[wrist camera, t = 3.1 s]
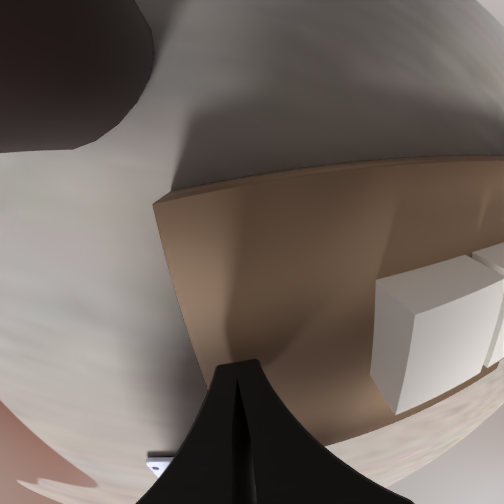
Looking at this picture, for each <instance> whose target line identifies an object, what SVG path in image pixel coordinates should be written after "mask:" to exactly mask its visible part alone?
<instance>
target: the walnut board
mask: <svg viewBox="0 0 504 504" xmlns="http://www.w3.org/2000/svg"><path fill="white" fill-rule="evenodd" d="M153 209H154V213H155V217H156V221H157V226H158V230H159V234H160V238H161V242H162V246H163V249H164V253H165V257H166V261H167V265H168V268H169V272H170V275H171V279H172V282H173V286H174V289H175V293H176V296H177V300H178V303H179V306H180V309H181V313H182V316H183V319H184V322H185V325H186V328H187V332H188V335H189V338H190V341H191V344H192V347H193V350H194V352H195V355H196V358H197V361H198V364H199V367H200V370H201V372H202V375H203V378H204V381H205V383H206V386H207V389H209V386H210V384H211V381H212V378H213V374H214V371H215V368H216V367H217V366H218V365H222V364H228V363H234V362H239V361H245V360H250V359H257V360H259V361H260V364H261V367H262V369H263V371H264V373H265V375H266V377H267V379H268V381H269V382H270V384H271V386H272V387H273V389H274V390H275V392H276V393H277V395H278V396H279V398H280V399H281V400H282V402H283V403H284V404H285V406H286V407H287V408H288V410H289V411H290V412H291V413H292V414H293V416H294V417H295V418H296V419H297V420H298V421H299V422H300V423H301V425H302V426H303V427H304V428H305V429H306V430H307V431H308V432H309V433H310V434H311V435H312V436H313V437H314V438H315V439H316V440H318V441H319V442H320V443H321V444H322V445H323V446H328V445H331V444H335V443H338V442H341V441H345V440H348V439H351V438H354V437H357V436H360V435H363V434H366V433H369V432H371V431H374V430H377V429H379V428H382V427H385V426H387V425H390V424H392V423H395V422H397V421H399V420H402V419H404V418H407V417H409V416H411V415H413V414H416V413H418V412H420V411H422V410H424V409H426V408H428V407H430V406H432V405H434V404H436V403H438V402H440V401H442V400H444V399H446V398H448V397H450V396H452V395H454V394H455V393H457V392H459V391H461V390H463V389H464V388H466V387H468V386H469V385H471V384H473V383H474V382H476V381H478V380H479V379H481V378H483V377H484V376H486V375H487V374H489V373H490V372H492V371H493V370H495V369H496V368H497V366H498V364H499V361H500V360H499V361H498V362H496V363H495V364H493V365H491V366H490V367H488V368H486V367H485V366H484V365H483V366H482V369H481V371H480V373H479V374H477V375H475V376H474V377H472V378H470V379H469V380H467V381H465V382H463V383H462V384H460V385H458V386H456V387H454V388H452V389H451V390H449V391H447V392H445V393H443V394H441V395H439V396H437V397H435V398H433V399H431V400H429V401H427V402H425V403H422V404H420V405H418V406H416V407H414V408H411V409H409V410H407V411H404V412H402V413H400V414H397V415H395V414H394V413H393V411H392V410H391V408H390V406H389V405H388V403H387V401H386V400H385V398H384V397H383V395H382V393H381V392H380V390H379V389H378V387H377V385H376V384H375V382H374V381H373V379H372V377H371V376H370V370H371V360H372V348H373V335H374V318H375V290H376V280H377V279H381V278H385V277H389V276H392V275H396V274H400V273H404V272H407V271H411V270H415V269H418V268H422V267H425V266H429V265H432V264H436V263H439V262H443V261H446V260H449V259H453V258H456V257H459V256H462V255H467V256H469V257H470V258H472V252H475V251H478V250H481V249H485V248H488V247H491V246H494V245H497V244H500V243H503V242H504V156H498V155H447V156H423V157H405V158H391V159H378V160H367V161H357V162H347V163H338V164H329V165H321V166H313V167H305V168H298V169H291V170H284V171H278V172H271V173H265V174H259V175H253V176H247V177H241V178H235V179H230V180H225V181H219V182H214V183H209V184H204V185H199V186H194V187H189V188H185V189H180V190H175V191H171V192H169V193H167V194H166V195H165V196H163V197H162V198H160V199H159V200H158V201H156V202H155V203H154V204H153Z"/></svg>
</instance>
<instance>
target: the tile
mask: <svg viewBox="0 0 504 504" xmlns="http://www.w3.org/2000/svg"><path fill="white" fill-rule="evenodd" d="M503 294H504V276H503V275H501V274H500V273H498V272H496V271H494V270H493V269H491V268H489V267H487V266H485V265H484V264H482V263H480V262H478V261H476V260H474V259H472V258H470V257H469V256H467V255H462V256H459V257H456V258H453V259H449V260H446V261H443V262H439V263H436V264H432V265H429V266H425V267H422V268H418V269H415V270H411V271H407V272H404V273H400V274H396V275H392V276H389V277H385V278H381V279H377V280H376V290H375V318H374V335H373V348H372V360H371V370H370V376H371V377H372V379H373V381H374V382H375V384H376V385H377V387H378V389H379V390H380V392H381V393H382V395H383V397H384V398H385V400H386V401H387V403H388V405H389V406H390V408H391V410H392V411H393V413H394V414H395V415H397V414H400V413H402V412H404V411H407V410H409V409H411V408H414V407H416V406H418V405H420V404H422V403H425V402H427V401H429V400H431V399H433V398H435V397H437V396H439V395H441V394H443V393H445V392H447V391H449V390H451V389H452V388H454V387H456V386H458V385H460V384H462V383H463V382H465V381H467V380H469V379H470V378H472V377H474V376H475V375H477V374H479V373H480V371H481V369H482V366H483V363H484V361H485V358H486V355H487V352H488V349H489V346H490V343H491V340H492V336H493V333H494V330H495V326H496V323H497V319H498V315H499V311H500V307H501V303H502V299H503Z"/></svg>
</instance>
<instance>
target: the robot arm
mask: <svg viewBox="0 0 504 504" xmlns="http://www.w3.org/2000/svg"><path fill="white" fill-rule="evenodd" d="M146 464H147V466H148V467H149V468H150V469H151V470H152V471H153V472H154V474H155V475H156V476H157V477H158V480H157V481H156V482H155V483H154V484H153V486H152V487H151V488H150V489H149V490H148V491H147V492H146V493H145V494H144V495H143V496H142V497H141V499H140V500H139V501H138V502H137V503H136V504H414V503H413V502H412V501H411V500H409V499H407V498H405V497H403V496H400V495H398V494H396V493H394V492H392V491H390V490H388V489H386V488H384V487H382V486H380V485H379V484H377V483H375V482H373V481H372V480H370V479H368V478H367V477H365V476H363V475H362V474H360V473H359V472H357V471H356V470H354V469H353V468H352V467H350V466H349V465H347V464H346V463H344V462H343V461H342V460H340V459H339V458H338V457H336V456H335V455H334V454H332V453H331V452H330V451H329V450H328V449H327V448H325V447H324V446H323V445H322V444H321V443H320V442H319V441H318V440H316V439H315V438H314V437H313V436H312V435H311V434H310V433H309V432H308V431H307V430H306V429H305V428H304V427H303V426H302V425H301V423H300V422H299V421H298V420H297V419H296V418H295V417H294V416H293V414H292V413H291V412H290V411H289V410H288V408H287V407H286V406H285V404H284V403H283V402H282V400H281V399H280V398H279V396H278V395H277V393H276V392H275V390H274V389H273V387H272V386H271V384H270V382H269V381H268V379H267V377H266V375H265V373H264V371H263V369H262V367H261V364H260V361H259V360H257V359H250V360H245V361H239V362H234V363H228V364H222V365H218V366H217V367H216V368H215V371H214V374H213V378H212V381H211V384H210V386H209V389H208V392H207V394H206V397H205V399H204V402H203V404H202V406H201V409H200V411H199V413H198V415H197V417H196V419H195V421H194V423H193V425H192V427H191V429H190V431H189V433H188V435H187V437H186V439H185V440H184V442H183V444H182V445H181V447H180V449H179V450H178V452H177V453H176V455H175V456H174V457H161V458H147V460H146Z"/></svg>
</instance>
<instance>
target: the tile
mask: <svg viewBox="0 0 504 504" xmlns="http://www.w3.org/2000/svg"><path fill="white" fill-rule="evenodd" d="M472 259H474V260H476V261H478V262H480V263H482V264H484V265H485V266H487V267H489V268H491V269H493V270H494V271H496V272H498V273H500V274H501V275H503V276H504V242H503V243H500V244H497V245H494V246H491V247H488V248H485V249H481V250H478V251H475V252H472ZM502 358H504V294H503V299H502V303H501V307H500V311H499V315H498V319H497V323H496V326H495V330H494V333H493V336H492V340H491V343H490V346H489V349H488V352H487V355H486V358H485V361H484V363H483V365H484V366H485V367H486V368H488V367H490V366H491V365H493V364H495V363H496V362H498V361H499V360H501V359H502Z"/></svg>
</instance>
